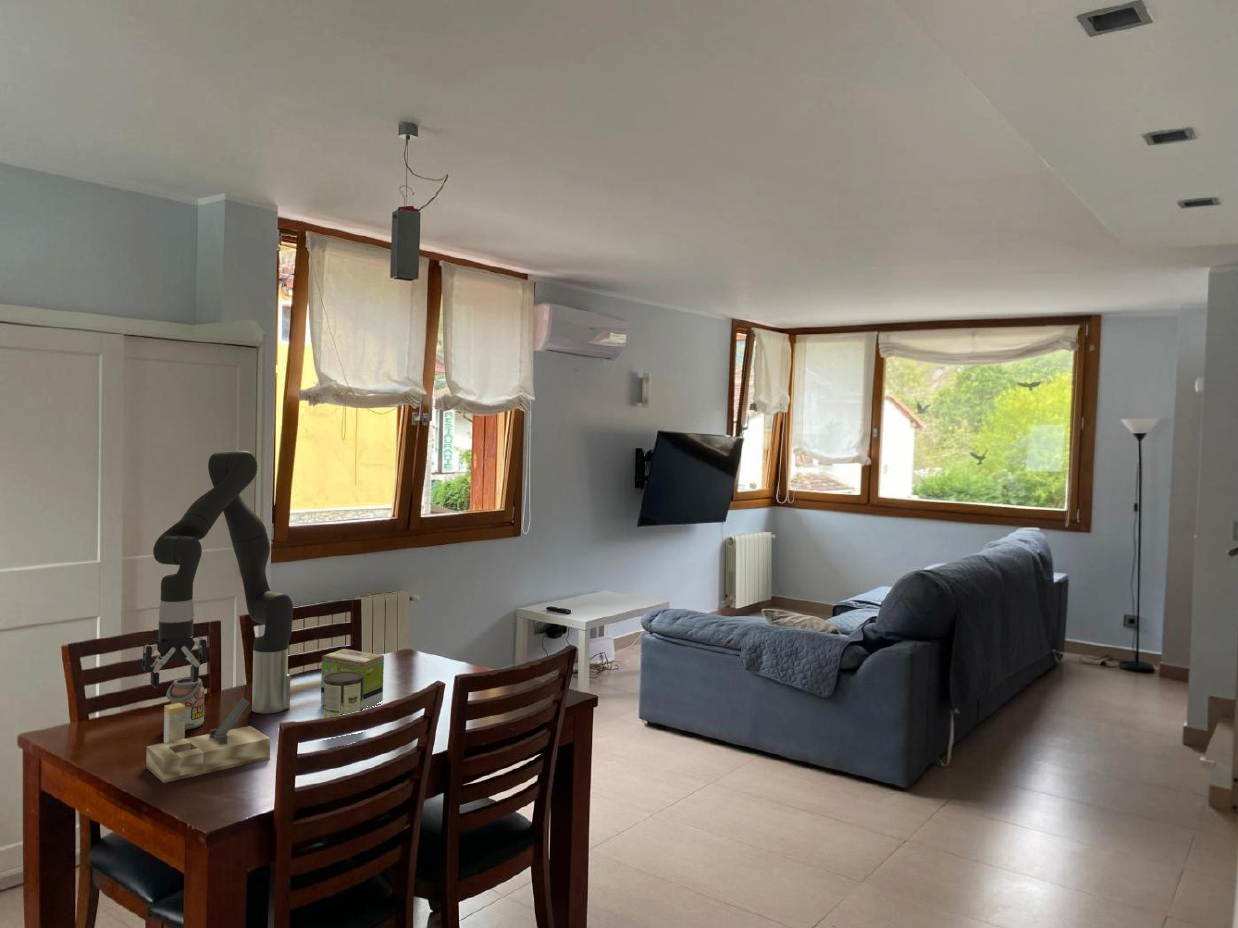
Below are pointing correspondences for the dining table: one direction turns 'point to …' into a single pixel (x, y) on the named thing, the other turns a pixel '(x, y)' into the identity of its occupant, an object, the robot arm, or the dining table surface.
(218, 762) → the block
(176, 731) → the pin
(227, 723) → the lever
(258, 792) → the dining table surface
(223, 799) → the dining table surface
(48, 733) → the dining table surface
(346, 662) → the tea box
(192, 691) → the beverage can
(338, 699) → the coffee can
